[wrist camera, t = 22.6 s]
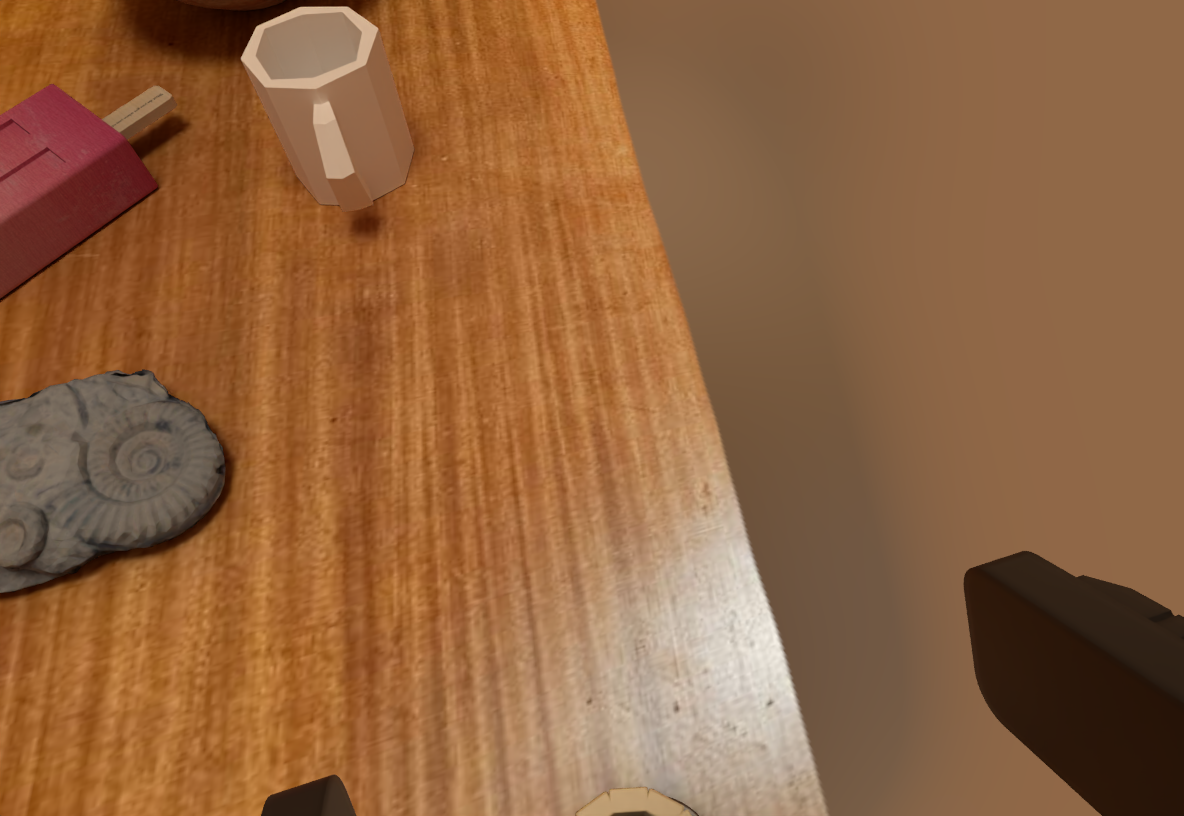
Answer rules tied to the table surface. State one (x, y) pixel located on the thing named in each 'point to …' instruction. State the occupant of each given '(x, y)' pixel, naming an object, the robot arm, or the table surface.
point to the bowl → (233, 4)
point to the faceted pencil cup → (633, 804)
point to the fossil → (99, 473)
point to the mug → (332, 103)
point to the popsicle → (66, 175)
